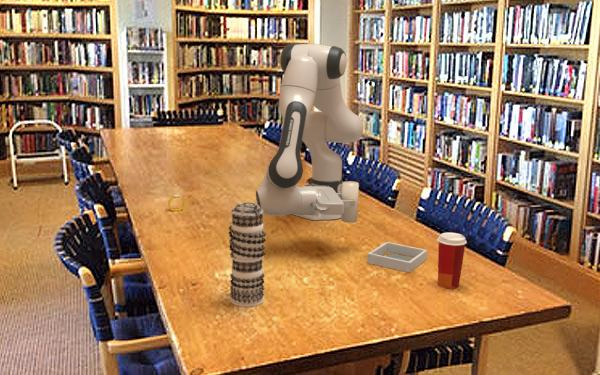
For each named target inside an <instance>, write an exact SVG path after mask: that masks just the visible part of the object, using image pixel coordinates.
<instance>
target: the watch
mask: <svg viewBox="0 0 600 375" xmlns="http://www.w3.org/2000/svg"><path fill="white" fill-rule="evenodd" d="M173 199H181V200H182V204H181V207H180V208H178V209H177V208H176V209H175V208H172V207H171V205H170V204H171V201H172V200H173ZM167 203H168V204H167V205H168V207H169V209H170V211H172V212H178V211H179V212H181V211H182V210H183V209H184V207H185V200H184V198H183V197H182V196H181V194H173V195H172V196H171V197H170V198H169V200H168V202H167Z"/></svg>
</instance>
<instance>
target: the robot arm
mask: <svg viewBox="0 0 600 375" xmlns="http://www.w3.org/2000/svg"><path fill="white" fill-rule="evenodd" d="M346 54H347V53H346V52H345V51H344V49H343V48H341V47H339V46H336V45H332V46H330V45H324V44H319V43H301V44H298V43H290V44H286V45H285V46H284V48H283V49H282V50H281V52H280V58H279V64H280V69H281V70H282V72H283V77H282V81H281V85H280V90H279V98H278V110H279V111H280V113H281V116H282V129H281V134H280V135H281V136H280V141H279V146H278V149H277V152H276V153H275V154H274V156H273V157H272V159H271V161H270V162H269V163H268V165H267V168H266V170H265V174H264V175H263V176H264V177H263V179H262V181H261V183H260V185H259V187H257V189H256V190H255V199H256V204H257V205H259V206H260V208H261V209H263V210H264V213H263V214H264V215H267V216H288V215H293V216H297V217H299V218H300V217H301V218H303V219H307V220H311V221H321V220H322V221H323V220H324V221H325V220H327V221H328V220H330V221H331V220H337V219H341V214H343V213H344V208H346V207H350V206H355V203H356V202H355V200H346V201H344V200H342V186H343V178H342V177H343V176H342V172H343V161H342V160H343V159H342V158H341V156H340V155H339V153H337V152H336V151H333V150H332V149H331V148H330V147H329V146H328V143H338V144H348V143H349V144H350V143H356V142H358V141H359V140H360V139H361V137H362V136H363V133H364V122H363V120H362V119H361V117H360V116H359V115H357V114H355V112H353V111H352V110H351V109H350V108H349V107H348V106H347V104H346V103H345V101H344V98H343V95H342V87H341V86H342V85H341V77H342V76H343V75H344V73H345V72H346V68H347V64H348V61H347V55H346ZM313 107H314V108H315V109H316V110H318V111H316V110H315V111H313ZM302 143H303V144H304V145H306V147H307V149H308V151H309V154H310V157H311V158H310V159H311V169H312V170H311V177H309V178H308V179H305V181H306V182H305V183H306V184H304V185H303V186H297V184H299V182H300V181H301V179H302V177H303V175H304V174H303V173H304V167H303V166H304V165H303V162H302V158H301V149H302V148H301V147H302Z"/></svg>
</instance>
